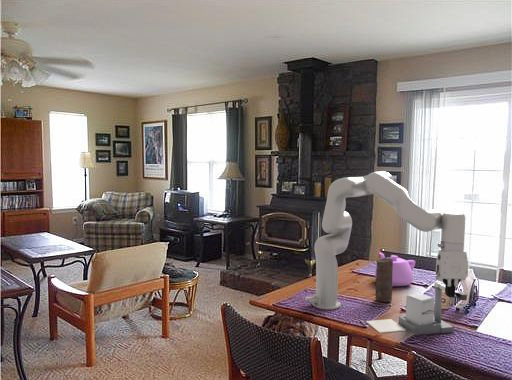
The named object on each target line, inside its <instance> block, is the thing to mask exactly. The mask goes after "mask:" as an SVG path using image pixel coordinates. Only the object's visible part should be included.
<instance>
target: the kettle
mask: <svg viewBox="0 0 512 380" xmlns="http://www.w3.org/2000/svg"><path fill="white" fill-rule="evenodd" d="M378 254H379V255H380V258H386V257H385V254H384V253H383V252H378ZM390 258H391V259H393V273H392V288H394V287H406V286H410V285H411V284H412V282H413V280H414V278H413V269H414V268H415V265H416V261H415V260H414V259H408V260H407V259H403V258H401V257H399V256H398V255H394V254H391V255H390ZM376 269H377V267H376V268H375V270H376ZM374 273H375V274H374V277H375V278H376V271H375V272H374Z"/></svg>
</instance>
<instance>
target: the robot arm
mask: <svg viewBox="0 0 512 380" xmlns="http://www.w3.org/2000/svg"><path fill="white" fill-rule="evenodd" d="M370 195H374V196H376V197H378V198H379V199H381V200H382V201H384V203H386V204H388V206H390V207H392V209H394V211H395V212H396V214H398V215H399V217H400V218H402V219H403V220H404V221H405V222H407V223H408V224H409V225H411V227H414V228H415V229H416V230H418V231H421V232H423V233H429V232H433V231H436V230H440V231H441V232H440V233H441V234H440V237H441V238H440V243H437V247H438V248H439V249H438V252H437V256H436V261H435V262H436V263H435V276H436V277H435V279H436V280H437V282H441V283H443V284H444V285H445V291H444V294H445V296H446V297H448V298H449V299H451V298H456V296H455V290H456V287H458V284H459V283H461V282H464V281H466V279H467V278H468V277H469V261H468V254H467V251H466V250H465V233H466V230H465V229H466V216H465V214H464V213H462V212H458V211H444V210H440V209H435V208H434V209H433V208H432V209H428V210H426V209H424V208H423V207H422V206H420V205H418V204H416V203H415V202H414V201H413V200H412V199H411V198H410V196H409V192H408V190H407V188H405V187H403V186H401V184H398V183H397V182H395V179H394V177H393V175H392V174H390V173H389V172H387V171H373V172H370V173H369V174H368V175H363V176H349V177H342V178H341V177H340V178H338V179H336V180H334V181H333V182H332V183H331V184H330V185H329V187H328V190H327V197H326V203H325V206H324V210H323V211H324V212H323V215H322V216H323V217H322V222H321V228H322V230H323V231H324V232H325V233H327V234H326V235H322V236H320V237H318V238H317V239H316V240H315V242H314V255H315V267H316V268H315V273H316V274H315V293H313V295H312V296H305V301H306V302H310V303H311V304H312V306H313V307H315V308H317V309H321V310H327V311H328V310H329V311H330V310H332V311H333V310H337V309H340V307H341V306H342V303H341V302H340V301H339V300H338V288H339V286H338V280H339V276H338V275H339V273H338V272H339V268H338V267H339V266H338V260H337V258H336V255H339V254H342V253H344V252H345V251H346V250H347V249H348V246H349V243H350V241H349V240H350V237H351V232H352V227H353V220H352V219H353V218H352V217H351V215H350V213H349V212H348V211H346V206H347V203H346V198H357V197H363V196H370Z"/></svg>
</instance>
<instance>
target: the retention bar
mask: <svg viewBox="0 0 512 380" xmlns="http://www.w3.org/2000/svg"><path fill="white" fill-rule="evenodd" d="M433 283H434V288H435V287H436V288H440V289H442V291H444V292H445V284H444V283H443V282H442V281H435V282H433ZM455 298H456V299H458V300H460V301H467V300H468V294H466V293H464V292H462V291H458V290H456V289H455Z"/></svg>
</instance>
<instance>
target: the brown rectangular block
mask: <svg viewBox="0 0 512 380" xmlns="http://www.w3.org/2000/svg"><path fill="white" fill-rule="evenodd" d="M376 268H377V269H376ZM376 268H375V272H376V277H375V299H376V300H377V302H391V301H392V300H393V287H392V273H393V259H391V257H385V258H381V257H379V258H376Z"/></svg>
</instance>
